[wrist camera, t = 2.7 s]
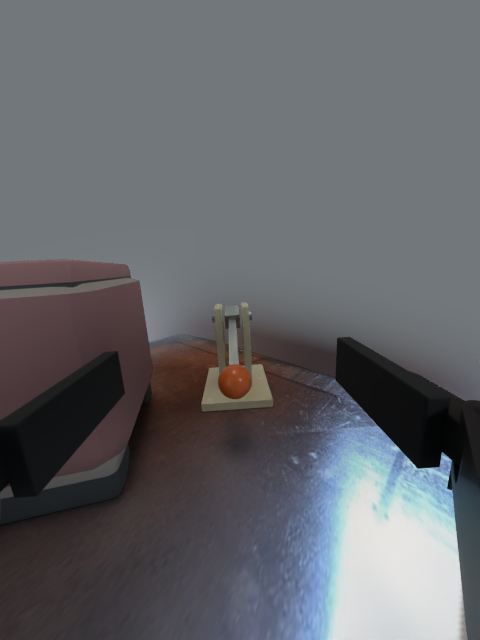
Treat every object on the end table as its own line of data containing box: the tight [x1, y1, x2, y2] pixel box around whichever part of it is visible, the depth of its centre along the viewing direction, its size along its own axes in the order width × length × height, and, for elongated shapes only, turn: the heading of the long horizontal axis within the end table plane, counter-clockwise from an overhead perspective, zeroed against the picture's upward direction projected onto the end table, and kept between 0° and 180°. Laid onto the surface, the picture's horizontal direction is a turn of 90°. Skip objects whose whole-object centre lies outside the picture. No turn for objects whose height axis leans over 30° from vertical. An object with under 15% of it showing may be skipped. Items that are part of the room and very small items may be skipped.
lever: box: [218, 306, 252, 399], centre depth 30 cm, size 16×4×4 cm, turn 2°
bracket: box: [201, 302, 273, 412], centre depth 37 cm, size 12×10×14 cm
